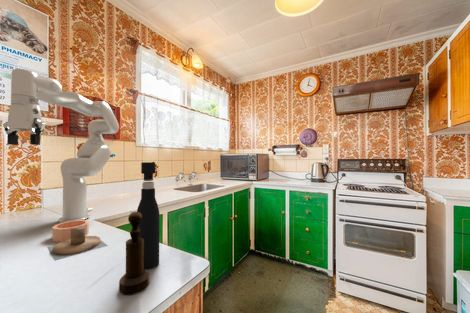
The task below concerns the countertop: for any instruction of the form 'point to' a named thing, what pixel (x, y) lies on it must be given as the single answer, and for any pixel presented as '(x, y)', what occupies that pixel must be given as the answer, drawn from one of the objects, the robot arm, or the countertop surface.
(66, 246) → the lid
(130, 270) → the dark brown knobbed cylinder
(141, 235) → the wine bottle
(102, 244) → the mat
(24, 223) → the countertop surface
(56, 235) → the bowl
